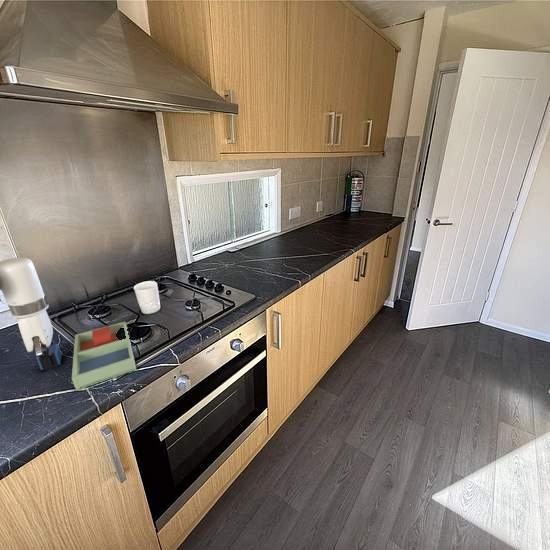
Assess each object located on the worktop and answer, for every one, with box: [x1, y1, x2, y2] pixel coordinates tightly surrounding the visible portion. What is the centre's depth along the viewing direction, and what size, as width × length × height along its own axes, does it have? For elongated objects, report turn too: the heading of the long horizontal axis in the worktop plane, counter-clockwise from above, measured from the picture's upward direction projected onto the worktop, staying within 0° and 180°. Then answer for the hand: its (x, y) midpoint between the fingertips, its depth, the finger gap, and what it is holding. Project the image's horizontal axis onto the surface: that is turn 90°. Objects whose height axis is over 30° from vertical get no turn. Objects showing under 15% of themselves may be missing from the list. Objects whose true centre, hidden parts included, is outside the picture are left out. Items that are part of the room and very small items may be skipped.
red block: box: [92, 325, 113, 347], centre depth 88 cm, size 4×4×4 cm
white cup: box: [133, 280, 161, 315], centre depth 108 cm, size 8×8×10 cm
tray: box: [71, 321, 137, 391], centre depth 84 cm, size 14×22×4 cm, turn 30°
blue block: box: [35, 343, 63, 371], centre depth 82 cm, size 4×4×4 cm
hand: (51, 361), depth 83 cm, fingers closed on blue block, 4 cm apart
